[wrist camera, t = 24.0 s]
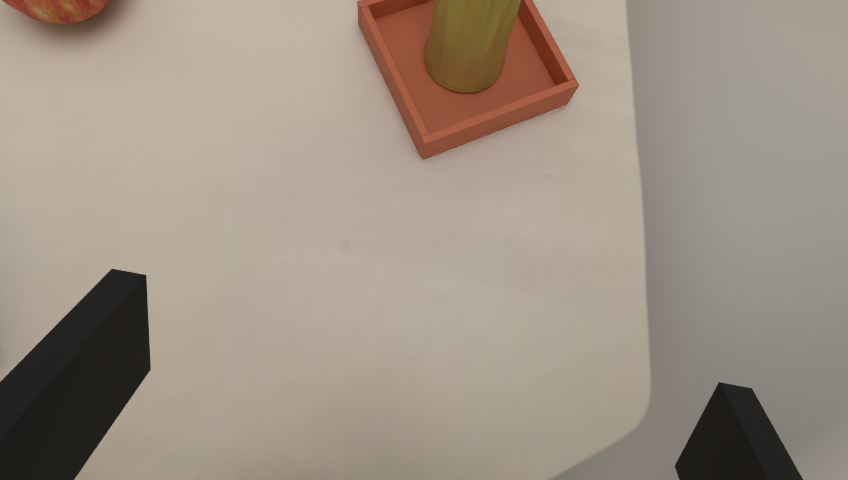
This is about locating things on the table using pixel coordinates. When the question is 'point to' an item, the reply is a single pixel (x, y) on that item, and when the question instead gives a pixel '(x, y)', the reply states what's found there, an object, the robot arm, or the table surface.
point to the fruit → (59, 9)
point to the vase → (469, 42)
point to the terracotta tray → (453, 111)
